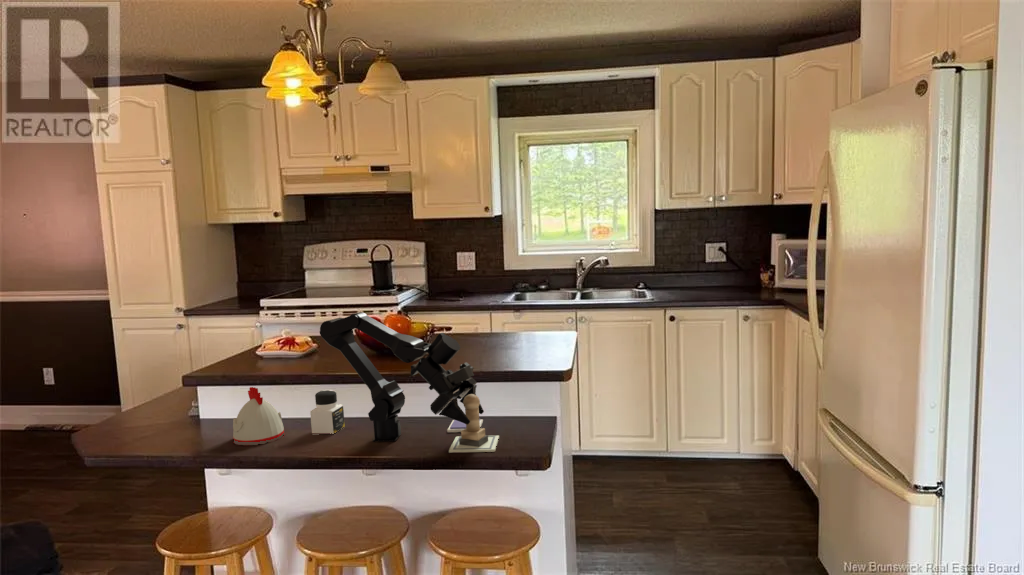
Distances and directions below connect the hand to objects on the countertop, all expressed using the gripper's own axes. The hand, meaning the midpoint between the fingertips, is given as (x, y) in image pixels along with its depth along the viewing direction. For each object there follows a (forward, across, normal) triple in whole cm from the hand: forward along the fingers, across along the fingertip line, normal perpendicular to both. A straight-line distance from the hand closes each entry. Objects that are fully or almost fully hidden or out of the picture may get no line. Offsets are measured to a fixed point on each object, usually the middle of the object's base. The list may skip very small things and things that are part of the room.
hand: (476, 418), depth 172 cm
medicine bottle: (-29, +2, +40) cm, 50 cm away
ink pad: (-2, +14, +12) cm, 18 cm away
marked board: (+5, 0, +6) cm, 7 cm away
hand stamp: (+4, 0, +6) cm, 7 cm away
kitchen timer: (-41, -7, +52) cm, 67 cm away
